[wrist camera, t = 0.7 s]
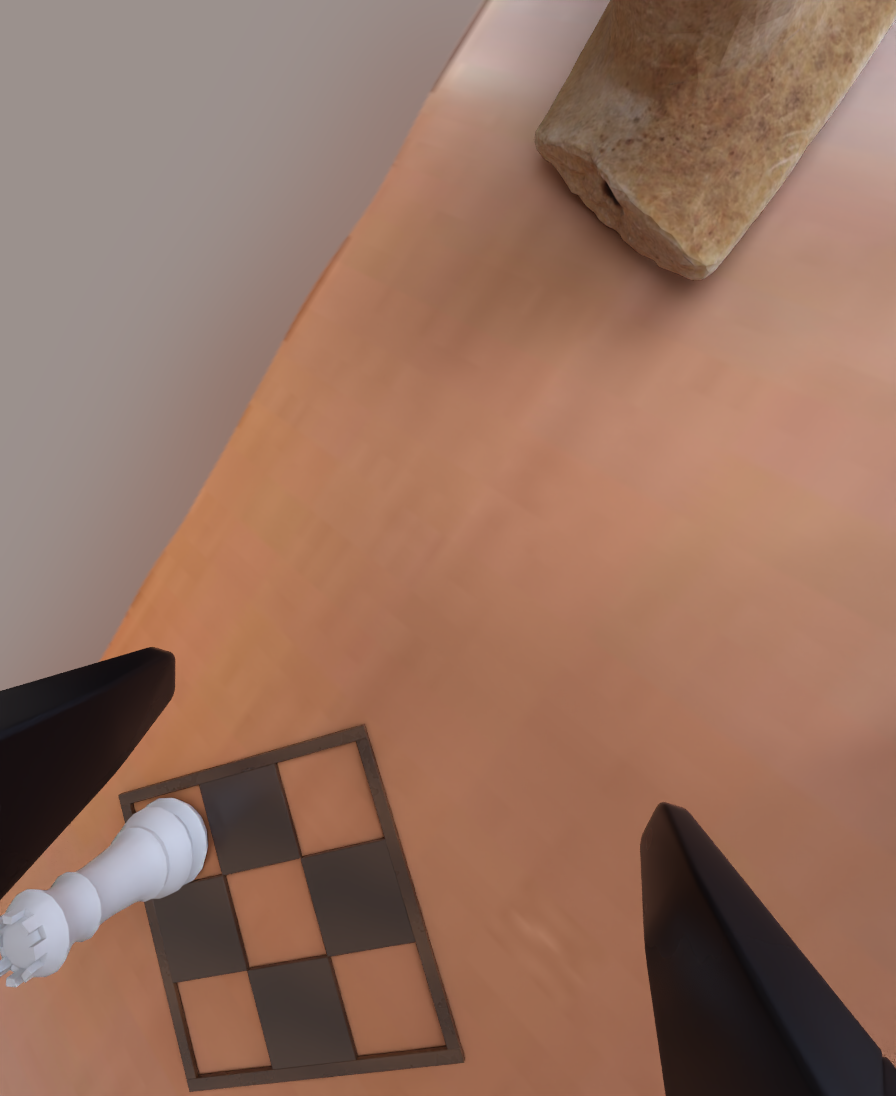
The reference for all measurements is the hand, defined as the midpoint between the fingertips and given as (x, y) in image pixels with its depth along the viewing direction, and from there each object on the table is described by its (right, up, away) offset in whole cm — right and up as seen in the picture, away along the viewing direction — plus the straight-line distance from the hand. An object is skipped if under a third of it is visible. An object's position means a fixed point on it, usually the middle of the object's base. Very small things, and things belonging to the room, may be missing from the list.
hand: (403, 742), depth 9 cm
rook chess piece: (-13, -12, +17) cm, 25 cm away
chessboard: (-8, -14, +16) cm, 23 cm away
